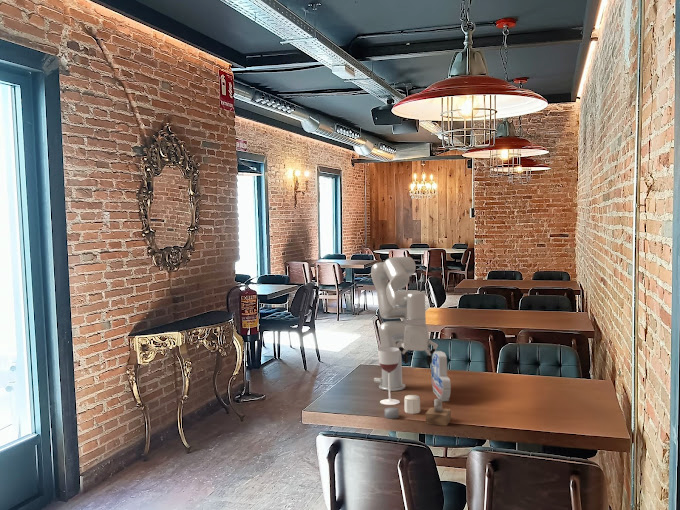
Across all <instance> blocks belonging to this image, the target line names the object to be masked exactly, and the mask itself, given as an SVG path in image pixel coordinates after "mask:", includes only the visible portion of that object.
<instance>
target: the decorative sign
mask: <svg viewBox="0 0 680 510" xmlns="http://www.w3.org/2000/svg"><path fill="white" fill-rule="evenodd" d="M447 358H448V357H447V355H446V353H445V352H444V351H442V350H436V351H435V352H434V353H433V354H432V363H431V364H430V374H431V376H430V379H431V386H432V392H433V393H434V395H435V396H436V397H437V399H442V403H443V402H449V401H450V398H451V393H452V392H451V391H452V390H451V388H452V386H451V385H452V383H451V379H450V377H449V376H448V359H447Z"/></svg>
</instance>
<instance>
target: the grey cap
mask: <svg viewBox="0 0 680 510" xmlns="http://www.w3.org/2000/svg"><path fill="white" fill-rule="evenodd" d="M399 413H400V412H399V408H398V407H393V406H392V407H386V408H384V418H385V419H388V420H394V419H398V418H399V417H400V415H399Z"/></svg>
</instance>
